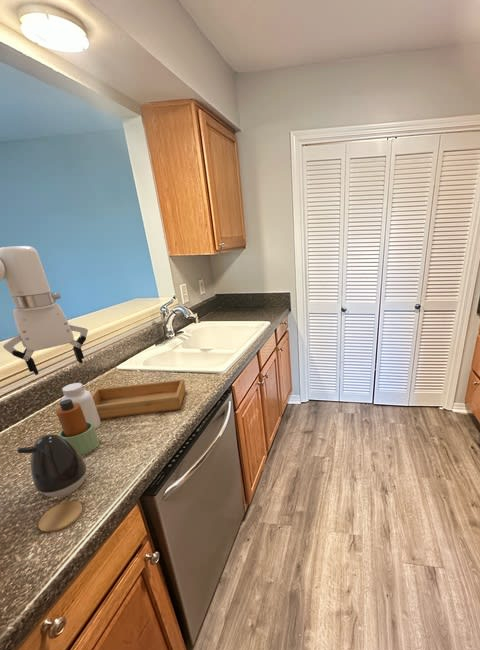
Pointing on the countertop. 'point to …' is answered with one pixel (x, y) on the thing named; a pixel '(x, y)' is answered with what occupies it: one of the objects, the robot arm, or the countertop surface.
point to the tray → (139, 398)
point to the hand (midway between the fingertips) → (59, 367)
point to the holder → (83, 440)
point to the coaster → (60, 516)
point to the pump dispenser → (55, 466)
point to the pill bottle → (82, 402)
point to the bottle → (71, 418)
